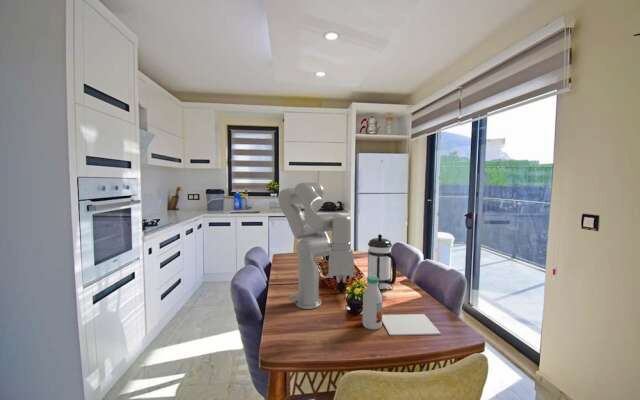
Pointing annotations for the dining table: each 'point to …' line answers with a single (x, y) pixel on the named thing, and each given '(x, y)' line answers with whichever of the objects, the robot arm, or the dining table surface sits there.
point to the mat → (409, 325)
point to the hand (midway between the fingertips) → (340, 291)
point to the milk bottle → (372, 305)
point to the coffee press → (381, 262)
